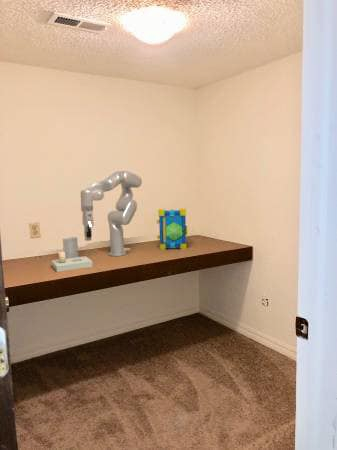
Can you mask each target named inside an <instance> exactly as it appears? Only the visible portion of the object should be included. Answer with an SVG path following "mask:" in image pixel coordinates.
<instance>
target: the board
mask: <svg viewBox="0 0 337 450" xmlns="http://www.w3.org/2000/svg"><path fill="white" fill-rule="evenodd" d="M57 253H58V259H55V260H53V259H52V260H51V267H52V268H54V270H55V271H56V272H57V273H59V272H65V271H66V272H67V271H72V270H79V269H84V268H85V269H87V268H93V260H91V259H90V258H89V257H87V256H86V255H85V256H78V257H75V258H68V259H65V252H64V251H58V252H57Z"/></svg>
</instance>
